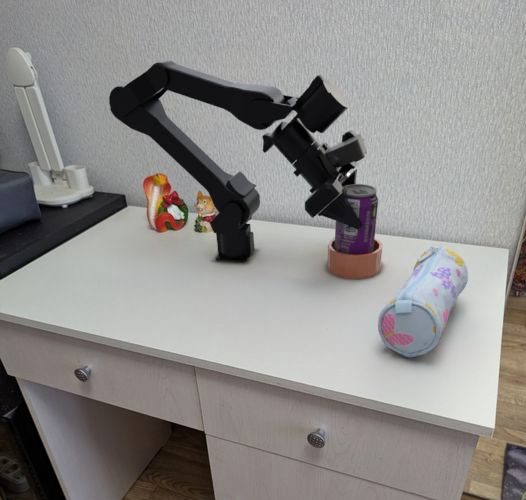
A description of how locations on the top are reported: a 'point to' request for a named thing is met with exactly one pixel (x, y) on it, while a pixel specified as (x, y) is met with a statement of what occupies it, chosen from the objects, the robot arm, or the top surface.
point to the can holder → (354, 262)
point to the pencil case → (423, 303)
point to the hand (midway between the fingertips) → (363, 220)
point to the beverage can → (366, 211)
